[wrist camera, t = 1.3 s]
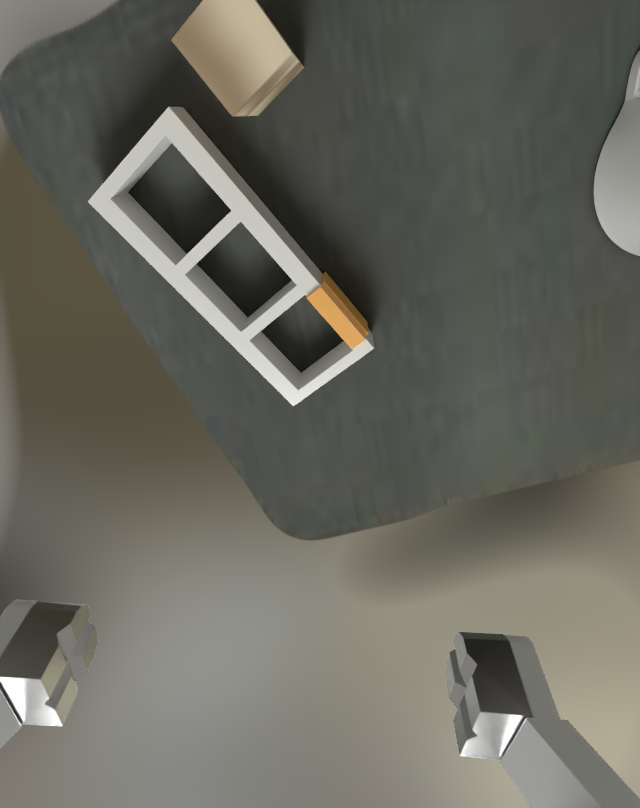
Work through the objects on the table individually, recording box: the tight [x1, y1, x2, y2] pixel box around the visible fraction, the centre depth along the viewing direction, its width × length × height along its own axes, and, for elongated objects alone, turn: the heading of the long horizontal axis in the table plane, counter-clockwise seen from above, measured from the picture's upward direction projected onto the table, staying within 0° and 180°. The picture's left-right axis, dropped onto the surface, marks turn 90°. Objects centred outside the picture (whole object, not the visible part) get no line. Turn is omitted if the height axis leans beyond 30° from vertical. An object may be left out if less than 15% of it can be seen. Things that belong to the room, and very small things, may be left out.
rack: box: [88, 107, 374, 406], centre depth 40 cm, size 10×24×4 cm, turn 40°
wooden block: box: [172, 0, 304, 116], centre depth 30 cm, size 5×5×10 cm
